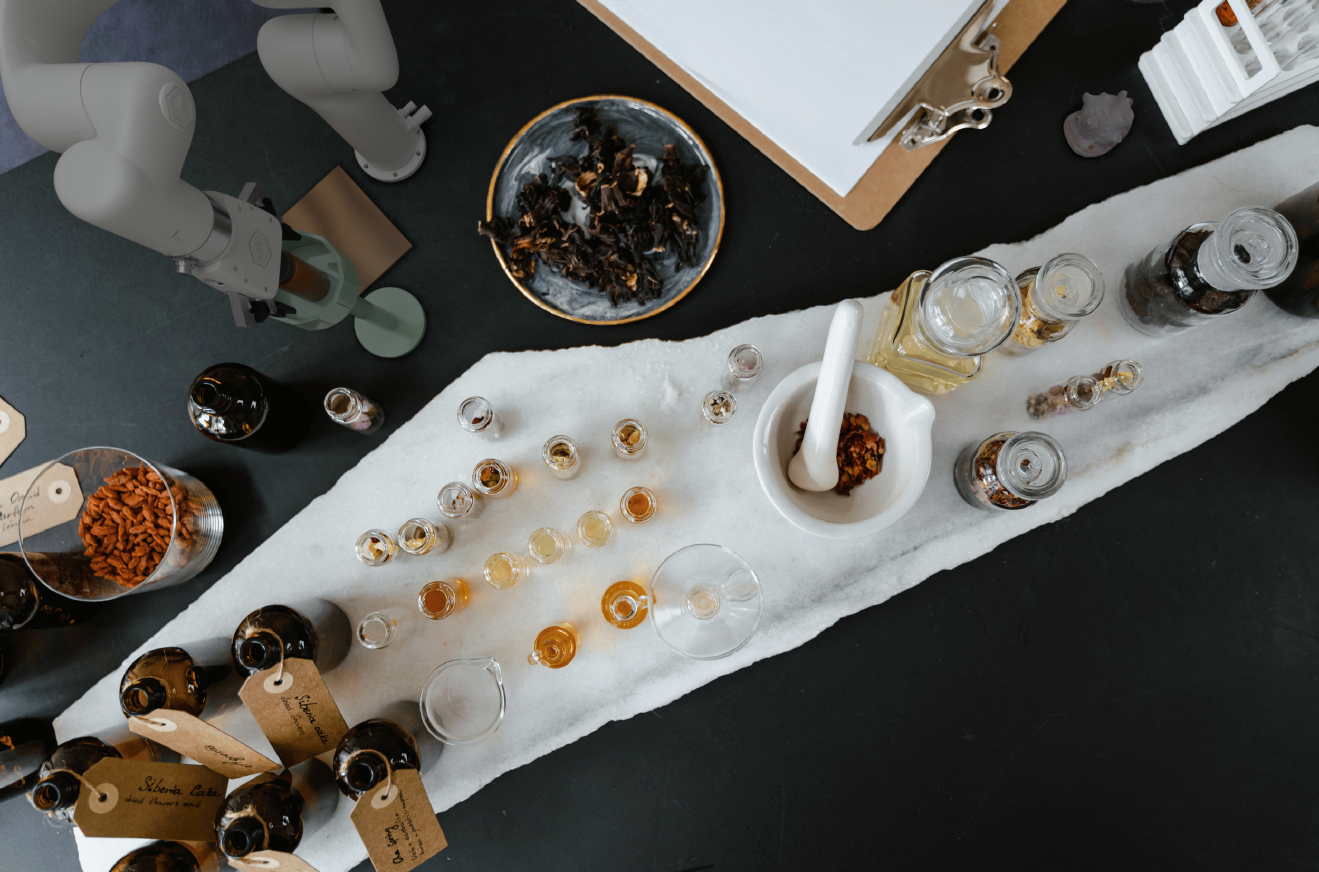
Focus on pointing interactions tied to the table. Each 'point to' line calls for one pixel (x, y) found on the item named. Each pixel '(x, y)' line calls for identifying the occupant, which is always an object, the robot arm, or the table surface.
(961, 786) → the table surface
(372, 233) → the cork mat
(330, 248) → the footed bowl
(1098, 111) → the seashell
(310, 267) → the amber bottle
